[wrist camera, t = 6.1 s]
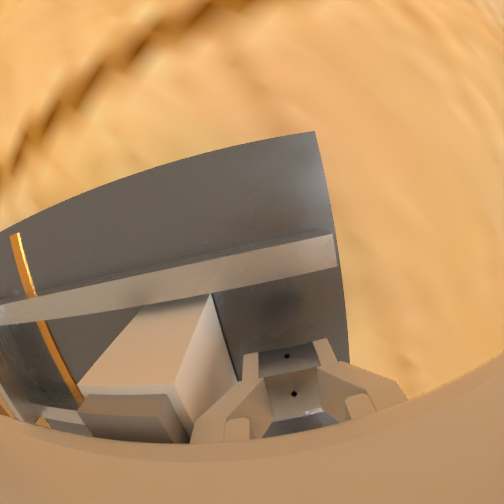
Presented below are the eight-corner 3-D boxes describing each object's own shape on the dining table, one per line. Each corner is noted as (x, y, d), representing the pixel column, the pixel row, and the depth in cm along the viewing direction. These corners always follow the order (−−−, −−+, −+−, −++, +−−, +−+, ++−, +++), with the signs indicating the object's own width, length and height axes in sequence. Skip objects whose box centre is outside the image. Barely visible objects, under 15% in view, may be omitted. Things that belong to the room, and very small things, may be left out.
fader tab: (210, 292, 12) (164, 406, 5) (238, 385, 13) (230, 507, 6) (146, 304, 12) (63, 401, 5) (181, 392, 13) (145, 502, 6)
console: (305, 139, 12) (334, 111, 7) (343, 408, 16) (364, 464, 11) (-11, 243, 13) (-59, 259, 8) (69, 423, 17) (44, 460, 12)
